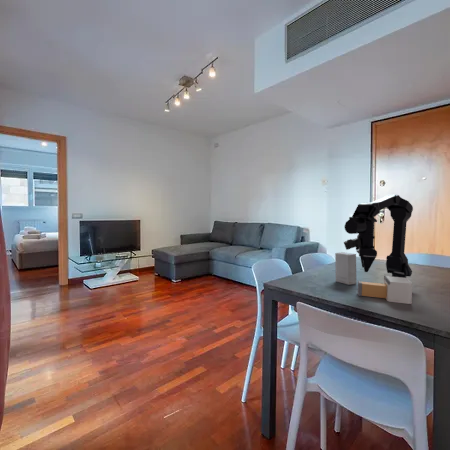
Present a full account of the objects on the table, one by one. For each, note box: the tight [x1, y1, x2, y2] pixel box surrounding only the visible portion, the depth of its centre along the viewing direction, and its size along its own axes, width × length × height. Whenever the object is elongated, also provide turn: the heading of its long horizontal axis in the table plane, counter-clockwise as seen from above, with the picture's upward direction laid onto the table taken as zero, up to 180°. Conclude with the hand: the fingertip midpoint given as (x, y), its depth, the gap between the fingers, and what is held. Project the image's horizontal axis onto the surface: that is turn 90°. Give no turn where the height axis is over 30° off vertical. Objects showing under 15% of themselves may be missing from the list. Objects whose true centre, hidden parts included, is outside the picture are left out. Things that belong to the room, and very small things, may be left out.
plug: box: [357, 280, 387, 299], centre depth 113 cm, size 4×16×5 cm, turn 68°
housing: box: [383, 275, 413, 305], centre depth 110 cm, size 10×8×8 cm
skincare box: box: [334, 251, 358, 286], centre depth 135 cm, size 8×6×15 cm
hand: (364, 269), depth 114 cm, fingers open, 9 cm apart
